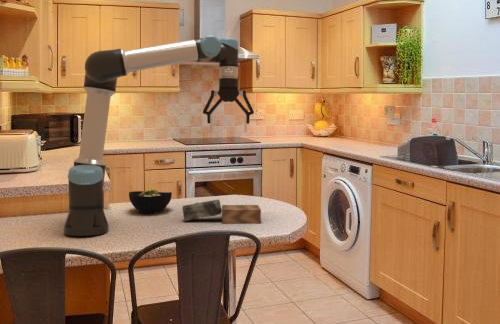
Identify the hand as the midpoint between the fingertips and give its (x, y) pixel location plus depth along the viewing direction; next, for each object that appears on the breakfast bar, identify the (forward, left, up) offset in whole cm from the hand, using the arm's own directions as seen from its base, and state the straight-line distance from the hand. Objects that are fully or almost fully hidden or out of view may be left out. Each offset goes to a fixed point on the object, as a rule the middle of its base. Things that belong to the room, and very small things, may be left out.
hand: (228, 132), depth 216 cm
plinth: (+5, -12, -34) cm, 36 cm away
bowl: (-31, +6, -34) cm, 47 cm away
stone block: (-2, -12, -30) cm, 33 cm away
